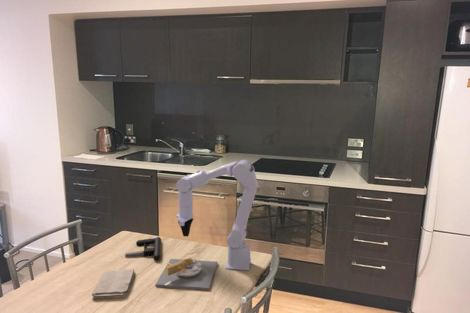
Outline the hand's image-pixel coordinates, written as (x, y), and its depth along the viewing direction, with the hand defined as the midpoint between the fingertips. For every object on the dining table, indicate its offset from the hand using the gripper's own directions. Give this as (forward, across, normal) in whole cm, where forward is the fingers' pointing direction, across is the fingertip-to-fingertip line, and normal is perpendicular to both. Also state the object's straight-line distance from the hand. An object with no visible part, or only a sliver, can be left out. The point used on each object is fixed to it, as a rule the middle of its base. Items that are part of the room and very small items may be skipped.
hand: (186, 235), depth 150 cm
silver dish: (+9, +15, +2) cm, 17 cm away
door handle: (+11, -4, -20) cm, 23 cm away
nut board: (+10, +13, +4) cm, 17 cm away
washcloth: (+11, +24, -21) cm, 34 cm away
